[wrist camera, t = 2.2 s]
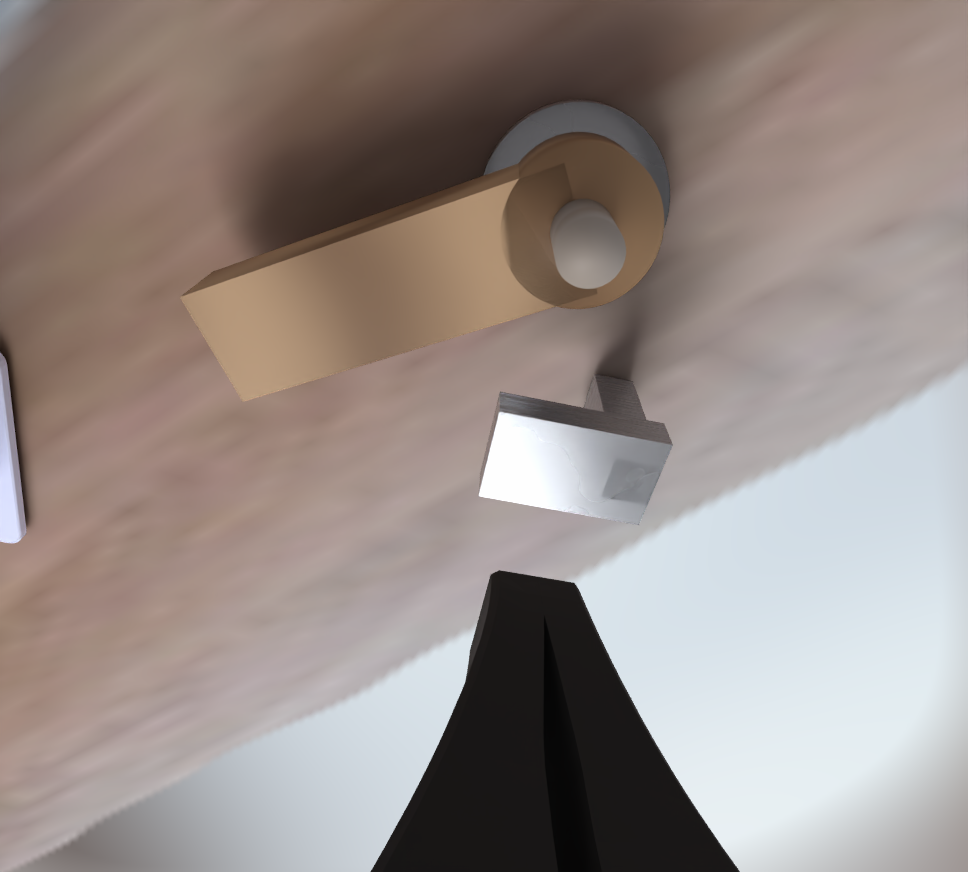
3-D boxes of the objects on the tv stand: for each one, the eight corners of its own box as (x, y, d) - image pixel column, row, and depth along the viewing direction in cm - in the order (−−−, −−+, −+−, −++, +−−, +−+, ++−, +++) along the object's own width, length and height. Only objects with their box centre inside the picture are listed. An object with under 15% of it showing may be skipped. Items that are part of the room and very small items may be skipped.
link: (631, 108, 15) (664, 127, 11) (660, 257, 16) (696, 310, 13) (206, 261, 17) (135, 313, 14) (272, 377, 19) (222, 448, 15)
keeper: (501, 334, 19) (499, 411, 15) (639, 362, 19) (672, 444, 15) (485, 407, 20) (478, 495, 16) (614, 432, 20) (638, 524, 16)
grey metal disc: (458, 263, 18) (457, 271, 17) (511, 72, 15) (511, 73, 15) (620, 311, 18) (624, 320, 18) (696, 134, 16) (703, 138, 15)
